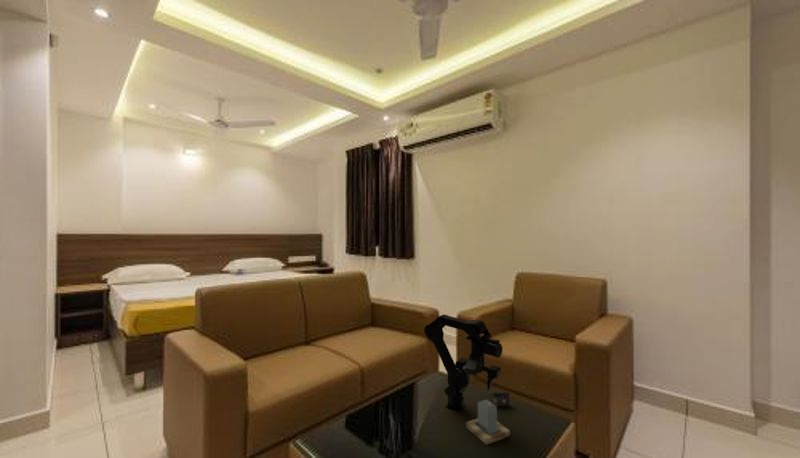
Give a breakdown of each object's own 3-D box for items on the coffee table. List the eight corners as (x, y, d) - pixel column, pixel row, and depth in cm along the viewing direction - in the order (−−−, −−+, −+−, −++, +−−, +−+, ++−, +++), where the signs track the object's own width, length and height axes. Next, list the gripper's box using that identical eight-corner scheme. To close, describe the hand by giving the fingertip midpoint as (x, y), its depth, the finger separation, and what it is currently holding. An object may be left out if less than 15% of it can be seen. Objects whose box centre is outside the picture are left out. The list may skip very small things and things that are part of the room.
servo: (475, 426, 143) (475, 398, 143) (484, 423, 145) (484, 395, 145) (490, 439, 135) (490, 408, 134) (499, 435, 137) (499, 405, 136)
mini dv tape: (508, 404, 159) (508, 391, 159) (508, 406, 158) (508, 393, 158) (489, 403, 160) (489, 391, 160) (490, 405, 159) (490, 392, 159)
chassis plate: (466, 427, 143) (466, 422, 143) (488, 419, 148) (488, 414, 148) (486, 444, 132) (486, 439, 132) (509, 435, 137) (509, 430, 137)
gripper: (449, 352, 148) (449, 388, 149) (491, 362, 137) (492, 401, 138) (460, 344, 157) (461, 378, 158) (501, 353, 146) (502, 390, 147)
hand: (478, 387), depth 150 cm, fingers open, 9 cm apart
